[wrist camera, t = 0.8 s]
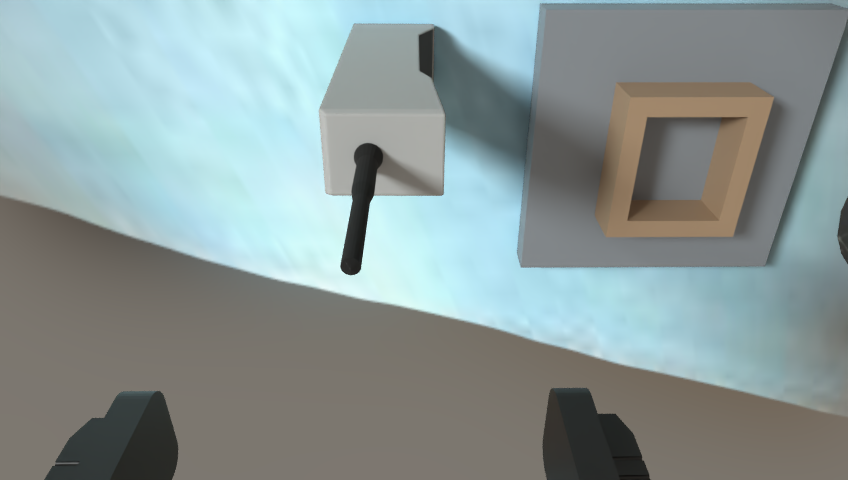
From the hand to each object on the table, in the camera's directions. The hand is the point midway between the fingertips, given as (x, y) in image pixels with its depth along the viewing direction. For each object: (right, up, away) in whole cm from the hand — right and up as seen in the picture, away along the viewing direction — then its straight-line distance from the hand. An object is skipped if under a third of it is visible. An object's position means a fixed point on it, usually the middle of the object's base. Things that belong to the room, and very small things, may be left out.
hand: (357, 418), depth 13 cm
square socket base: (+18, +11, +30) cm, 36 cm away
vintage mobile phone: (0, +16, +27) cm, 31 cm away
